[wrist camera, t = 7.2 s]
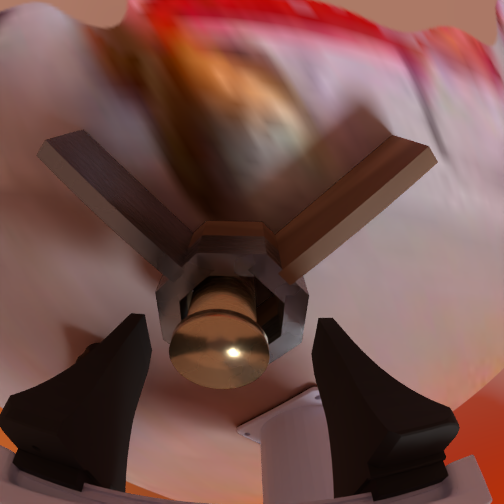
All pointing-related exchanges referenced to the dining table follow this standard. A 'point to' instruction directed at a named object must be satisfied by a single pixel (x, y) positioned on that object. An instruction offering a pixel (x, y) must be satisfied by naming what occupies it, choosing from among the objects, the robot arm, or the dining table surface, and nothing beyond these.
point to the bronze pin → (221, 335)
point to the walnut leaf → (334, 212)
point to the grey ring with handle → (174, 240)
